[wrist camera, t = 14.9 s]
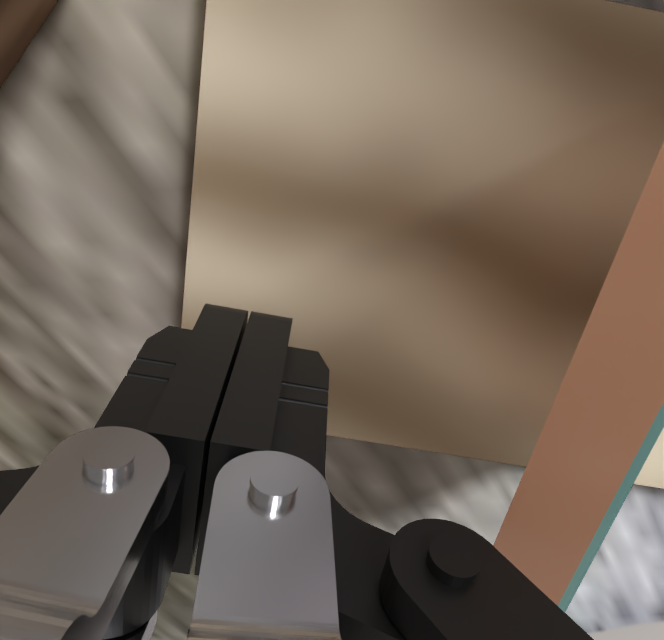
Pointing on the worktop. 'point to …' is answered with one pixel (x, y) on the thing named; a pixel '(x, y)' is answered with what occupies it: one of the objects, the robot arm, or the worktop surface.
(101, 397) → the worktop surface
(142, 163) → the worktop surface
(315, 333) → the board
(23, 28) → the brown rectangular block
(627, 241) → the tile
